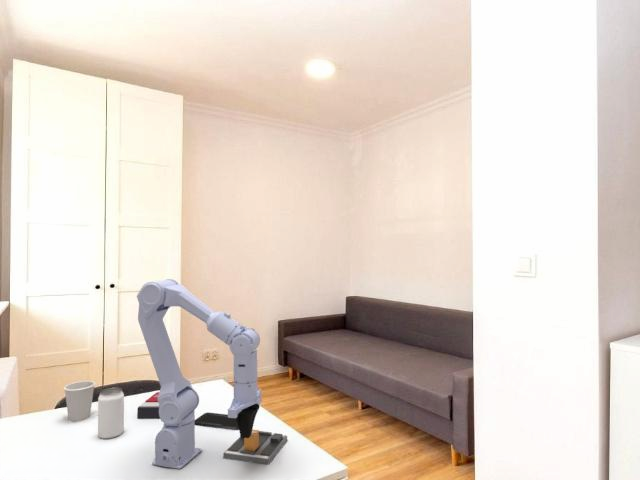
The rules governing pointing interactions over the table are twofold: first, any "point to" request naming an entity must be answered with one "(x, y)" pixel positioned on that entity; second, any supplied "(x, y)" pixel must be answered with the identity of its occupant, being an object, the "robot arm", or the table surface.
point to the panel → (263, 453)
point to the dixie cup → (79, 400)
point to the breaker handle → (252, 441)
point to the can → (110, 413)
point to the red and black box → (149, 408)
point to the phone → (217, 421)
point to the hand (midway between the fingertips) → (245, 436)
